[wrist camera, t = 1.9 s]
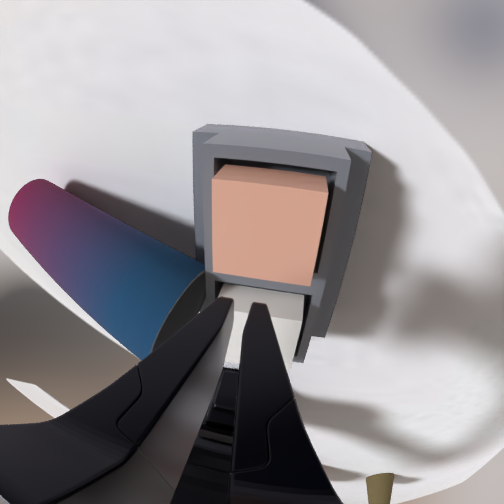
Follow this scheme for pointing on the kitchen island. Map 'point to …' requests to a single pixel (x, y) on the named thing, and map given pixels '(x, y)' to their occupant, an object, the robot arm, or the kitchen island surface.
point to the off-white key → (281, 311)
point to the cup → (109, 266)
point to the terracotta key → (267, 223)
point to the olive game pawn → (379, 488)
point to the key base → (295, 160)
